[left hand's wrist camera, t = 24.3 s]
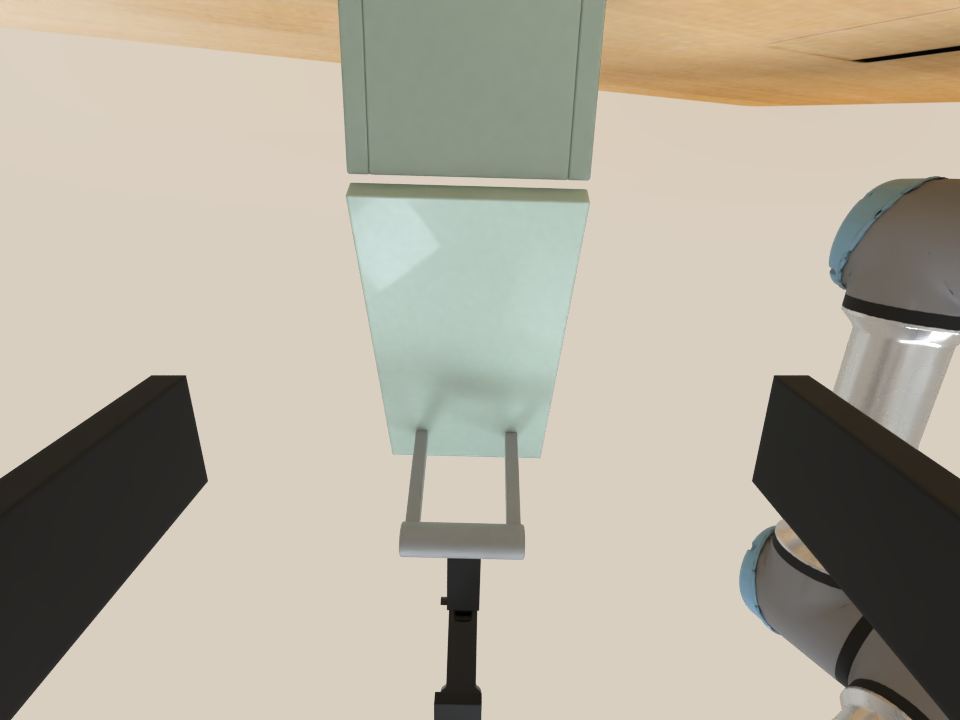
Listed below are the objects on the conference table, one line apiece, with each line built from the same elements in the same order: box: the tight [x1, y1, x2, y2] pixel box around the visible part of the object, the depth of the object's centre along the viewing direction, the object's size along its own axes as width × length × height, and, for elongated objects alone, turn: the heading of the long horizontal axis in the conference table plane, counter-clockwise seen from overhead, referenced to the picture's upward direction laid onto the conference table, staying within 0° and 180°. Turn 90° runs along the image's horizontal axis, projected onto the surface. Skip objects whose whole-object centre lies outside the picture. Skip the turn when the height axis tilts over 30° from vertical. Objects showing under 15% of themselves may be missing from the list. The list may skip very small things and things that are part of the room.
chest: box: [338, 0, 606, 180], centre depth 27 cm, size 18×9×11 cm, turn 0°
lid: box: [346, 183, 590, 560], centre depth 25 cm, size 18×9×8 cm
